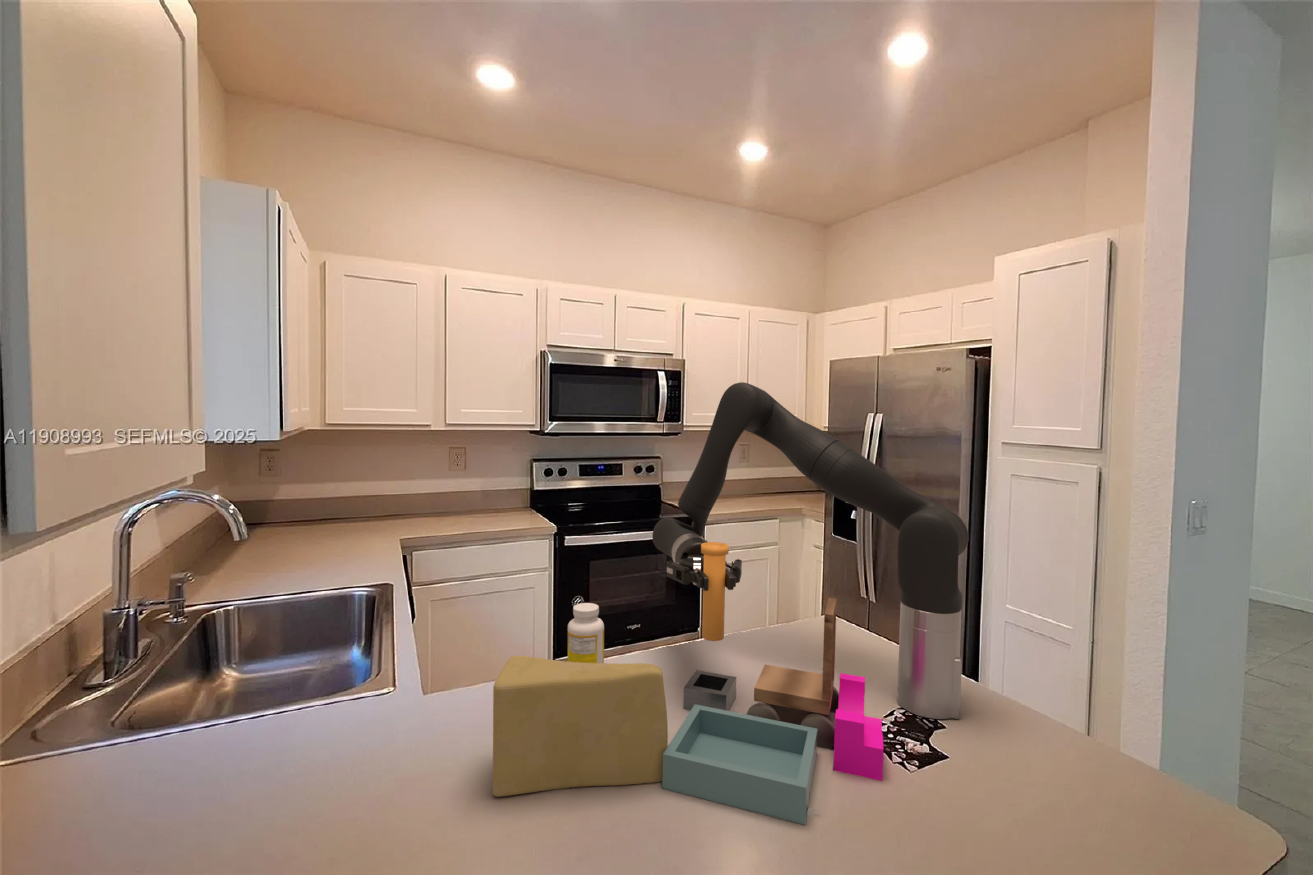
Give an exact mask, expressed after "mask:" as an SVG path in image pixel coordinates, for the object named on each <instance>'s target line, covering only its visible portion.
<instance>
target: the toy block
mask: <svg viewBox="0 0 1313 875" xmlns="http://www.w3.org/2000/svg"><path fill="white" fill-rule="evenodd" d="M838 688H839V689H838V692H839V703H838V709H836V713H835V716H834V727H835V737H834V746H833V772H839V773H843V774H848V775H853V776H858V777H862V778H867V779H872V780H875V781H880V782H883V777H884V776H883V773H884V769H883V768H884V733H883V726H882V724H883V723H882V722H883V719H882V718H878V717H873V716H867V715H865V697H866V696H865V690H866V689H865V688H866V677H865V676H859V675H854V674H853V675H852V674H847V673H841V672H840V673H839V687H838Z"/></svg>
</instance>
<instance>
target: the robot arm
mask: <svg viewBox="0 0 1313 875" xmlns="http://www.w3.org/2000/svg"><path fill="white" fill-rule="evenodd" d="M744 431H746V432H749V433H751V434H753V435H755V436H757V437H759V438H761V439H763V440H765V441H766V442H767V443H769V444H771V445H772V446H774V447H776V448H777V449H779V451H781V453H783V454H784V455H785V457H787V459H788V460H789V461H790V462H791V464H792V465H793V466H794V467H795V468H796V469H797V470H798V471H799V472H800V473H801V474H802V475H804V476H805V477H806V478H807V479H808V480H809V481H811V482H813V483H814V484H816V485H817V486H818V487H819V488H821V489H822V490H823V491H824V492H826V493H828V494H830V495H831V496H833V497H835V498H837V499H839V500H841V501H843V502H845V503H847V504H850V505H852V506H855V507H857V508H860V509H862V510H865V511H867V512H869V513H871V514H873V515H876V516H877V517H879V518H881V519H883V520H884V521H885V522H886V523H888V524H889V525H891V527H893V528H894V529H896V530H897V531H898V536H897V583H898V584H897V586H898V587H899V590H900V606H899V608H900V610H899V611H900V612H899V613H900V615H899V633H898V634H899V637H898V639H899V640H898V663H897V664H898V668H897V670H898V671H897V687H896V688H897V690H896V691H897V693H896V694H897V696H896V697H897V698H896V701H897V703H898V704H899V706H900V707H902V708H903V709H904V710H906V711H907V712H910V713H912V714H914V715H916V716H920V717H922V718H923V717H924V718H927V719H934V720H935V719H936V720H947V719H957V720H960V716H961V715H960V714H961V692H962V691H961V690H962V671H963V670H962V668H963V666H962V664H963V660H962V658H961V653H960V652H961V635H962V634H961V631H962V606H963V604H962V603H963V595H962V592H961V591H960V588H959V557H960V555H961V554H963V552H964V551H965V550H966V548H967V546H968V543H969V539H970V538H969V537H970V536H969V530H968V527H967V525H966V523H965V522H964V520H963V519H962V518H961V517H960V515H958V514H957V513H955V512H954V510H953V511H952V510H951V509H949V508H947V507H946V506H945V505H944V506H943V505H941V504H940V503H937V501H933V500H932V499H929V497H926V496H924V495H922V494H921V493H918V492H916V491H914V490H913V489H911V488H909V487H907V486H906V485H904V484H902V483H901V482H900V481H898V480H897V479H895V478H894V477H893V476H892V475H890V474H889V473H887V472H886V471H885V470H884V469H882V468H881V467H879V466H878V465H877V464H875V463H874V462H873V461H871V460H869V459H868V458H866V457H865V456H864V455H862V454H861V453H860V452H858V451H856V450H855V449H853V448H852V447H851V446H849V445H847V444H846V443H844V442H843V441H841V440H840V439H838V438H836V437H834V436H833V435H831V434H830V433H828V432H826V431H824V430H822V429H820V428H818V427H816V426H814V425H812V424H810V423H808V422H805V421H803V420H802V419H800V418H799V417H797V416H795V414H793V413H792V412H791V411H789V410H788V409H787V408H786V407H784V405H782V404H781V403H779V402H778V401H777V400H776V399H775V398H774V397H773V396H772V395H770V393H768V392H767V391H765V390H764V389H762V388H760V387H757V386H755V385H753V384H751V383H748V382H744V381H743V382H742V381H741V382H736V383H733V384H732V385H730V386H728V388H727V389H725V391H724V392H723V394H722V396H721V398H720V400H719V402H718V405H717V408H716V412H715V415H714V416H713V421H712V423H711V427H710V428H709V433H708V434H707V437H706V441H705V443H704V447H703V448H702V452H701V454H700V457H699V459H698V462H697V464H696V467H695V468H694V470H693V472H692V474H691V476H690V478H689V480H688V481H687V483H686V485H685V487H684V489H683V491H682V493H681V495H680V497H679V499H678V501H677V502H678V503H677V506H678V509H679V510H680V511H681V512H682V513H683V514H685V515H686V516H688V517H689V519H691V520H692V522H691V525H689V524H686V523H684V522H683V521H680V520H678V519H675V518H673V517H671V516H670V517H669V516H667V517H662V518H661V519H660V520H658V522H656V524H655V525H654V528H653V530H652V543H653V545H654V546H655V548H656V549H657V550H659V552H662V553H663V554H665V555H667V556H669V558H671V559H672V560H669V561H666V577H667V578H670V579H671V580H674V581H676V582H677V583H680V584H682V585H686V586H687V585H689V584H690V583H692V584H693V585H694V586H697V588H699V589H702V592H703V591H708V584H709V579H708V576H707V575H706V574H705V573H704V554H702V553H701V544H702V543H707V542H708V541H707V540H706V539H705V538H704V532H705V528H706V524H707V522H708V518H709V515H710V513H711V512H712V509H713V508H714V505H715V504H716V502H717V500H718V498H719V496H720V494H721V492H722V490H723V487H724V485H725V482H726V477H727V472H728V466H729V462H730V457H731V455H732V452H733V450H734V447H735V446H736V443H737V442H738V441H739V438H740V437H741V435H742V434H743V432H744ZM742 562H743V560H742V559H739V558H737V559H735V560H733V561H731V563H728V562H727V561H726V562H725V589H727V591H734V588H736V586H737V584H739V583H740V582H741V579H742V574H743V572H742V571H743V570H742V567H743V563H742Z"/></svg>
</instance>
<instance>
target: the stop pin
mask: <svg viewBox="0 0 1313 875" xmlns="http://www.w3.org/2000/svg"><path fill="white" fill-rule="evenodd" d="M729 547H730V546H729V544H727V543H723V542H719V541H718V542H717V541H714V542H713V541H712V542H711V541H707V543H702V544H701V553H702V554H704V573H705V574H706V575H707V576H708V579H709V584H708V591H703V590H702V624H701V626H702V633H701V634H702V636H701V637H702V638H703V639H704V640H705V641H706V640H707V641H710V642H719V641H722V640H724V638H725V608H726V606H725V605H726V604H725V603H726V600H725V599H726V587H725V562H727V560H726V556H727V555H729V549H730V548H729Z"/></svg>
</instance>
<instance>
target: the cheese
mask: <svg viewBox="0 0 1313 875" xmlns="http://www.w3.org/2000/svg"><path fill="white" fill-rule="evenodd" d="M663 673H664V672H663V671H662V668H661V667H660V666H658V665H655V664H651V663H635V662H634V663H611V662H610V663H607V662H604V663H578V662H568V661H562V660H554V659H548V658H541V657H534V656H525V655H512V656H511V657H509V658H508V659H507V661H506V662H505V664H504V666H503V667H502V669H501V670H500V673H499V674H498V676H497V678H496V679H495V681H494V684H493V687H492V688H493V691H492V692H493V693H492V696H493V697H492V698H493V700H492V701H493V702H492V703H493V707H492V709H493V710H492V720H493V721H492V792H493V793H492V794H493V796H495V797H500V798H501V797H508V796H509V797H510V796H515V795H523V794H528V793H535V792H536V793H537V792H542V791H543V792H545V791H550V790H561V789H569V788H570V787H571V788H580V787H581V788H582V787H601V786H603V787H605V786H622V785H623V786H626V785H639V784H650V783H652V784H653V783H659V782H660V783H661V782H663V754H664V752H665V750H666V749H667V747H668V746H669V743H668V740H669V739H668V738H669V737H668V735H669V732H668V714H667V713H668V710H667V702H666V693H665V684H664V683H665V682H664V674H663Z"/></svg>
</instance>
